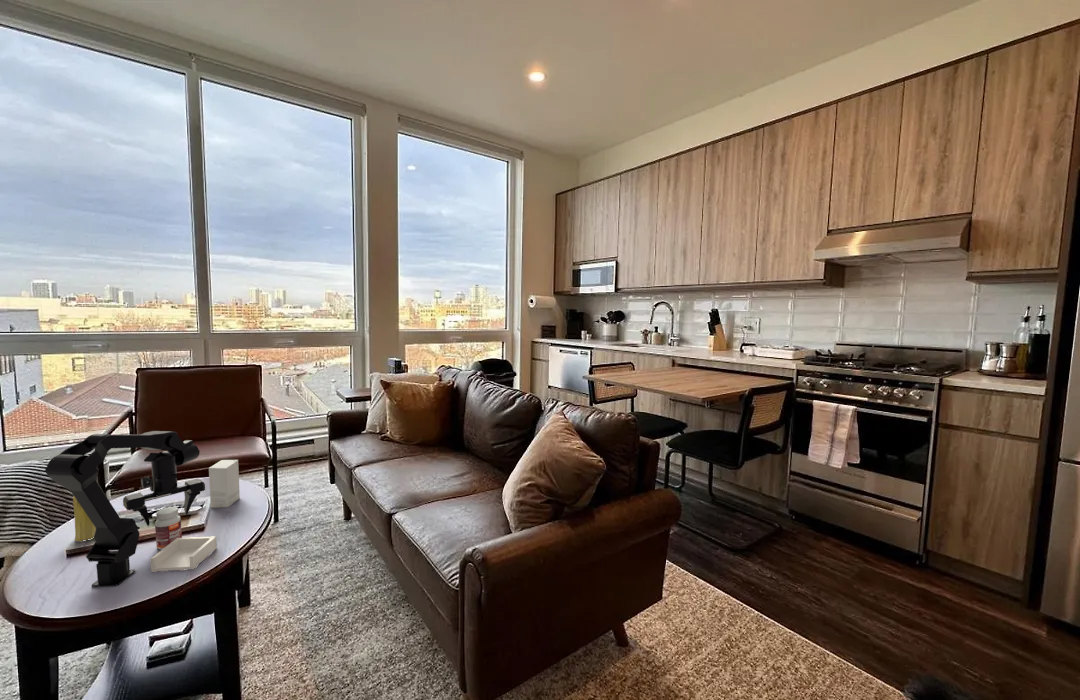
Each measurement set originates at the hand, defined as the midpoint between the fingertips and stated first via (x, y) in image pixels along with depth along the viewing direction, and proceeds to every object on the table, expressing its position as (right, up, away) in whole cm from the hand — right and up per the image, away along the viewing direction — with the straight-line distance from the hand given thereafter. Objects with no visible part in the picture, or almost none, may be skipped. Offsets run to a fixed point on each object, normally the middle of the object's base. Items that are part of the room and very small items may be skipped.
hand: (167, 519), depth 137 cm
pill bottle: (0, -9, +1) cm, 9 cm away
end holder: (+11, -9, -7) cm, 16 cm away
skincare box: (-3, -5, +30) cm, 30 cm away
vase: (-29, -7, +4) cm, 30 cm away
